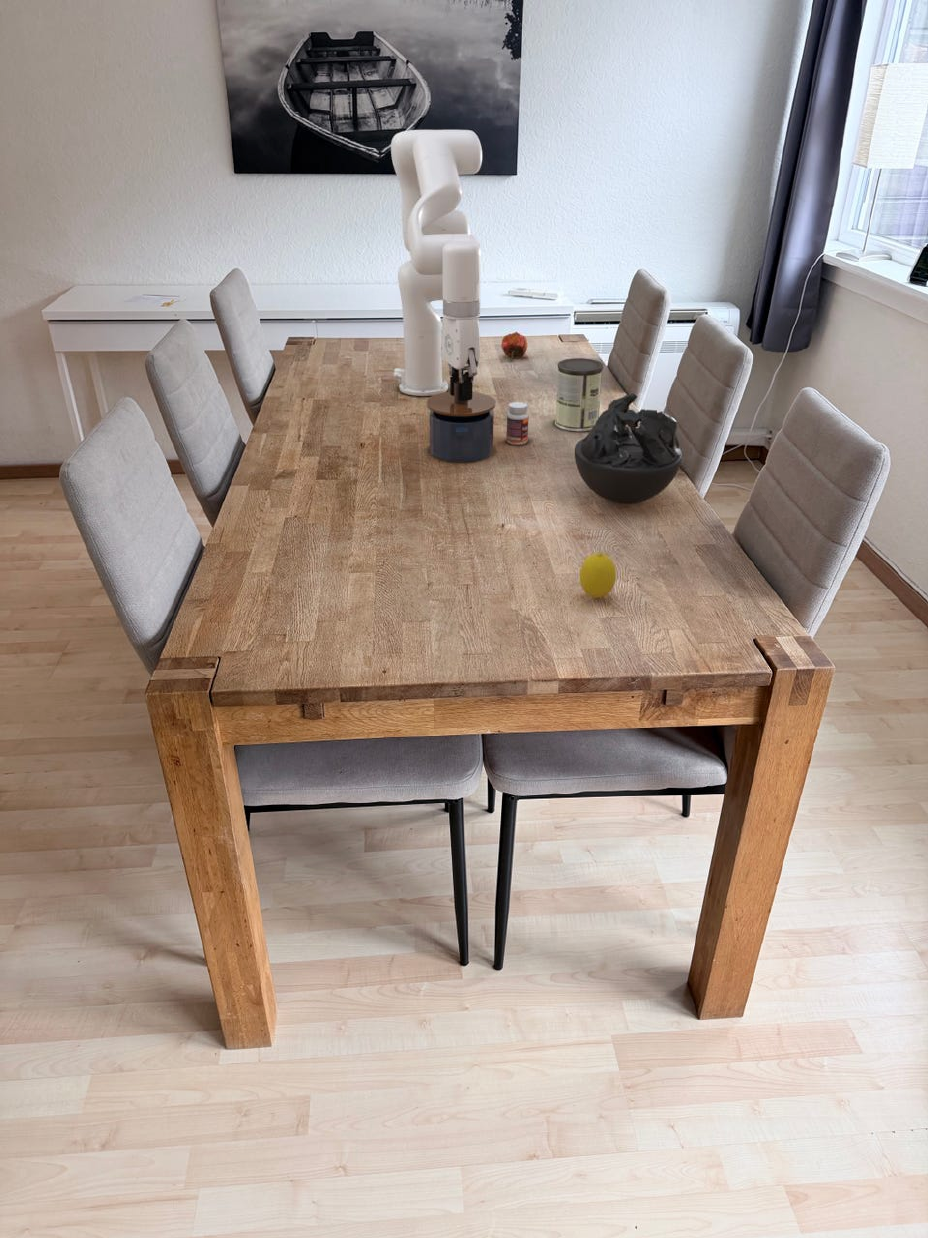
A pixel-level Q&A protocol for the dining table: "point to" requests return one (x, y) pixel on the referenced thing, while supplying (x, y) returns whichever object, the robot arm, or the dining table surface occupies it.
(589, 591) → the lemon
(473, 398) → the lid
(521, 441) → the pill bottle
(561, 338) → the dining table surface
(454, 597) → the dining table surface
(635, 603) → the dining table surface
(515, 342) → the pomegranate
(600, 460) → the coal bowl
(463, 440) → the pot
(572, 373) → the coffee can
